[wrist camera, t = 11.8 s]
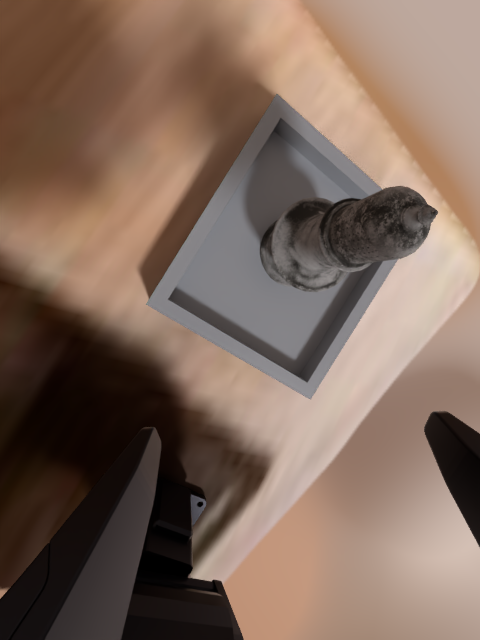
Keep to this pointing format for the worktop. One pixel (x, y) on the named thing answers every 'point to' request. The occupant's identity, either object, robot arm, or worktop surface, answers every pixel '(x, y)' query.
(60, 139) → the worktop surface
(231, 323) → the grey tray
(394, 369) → the worktop surface
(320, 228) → the grey tall rounded piece
